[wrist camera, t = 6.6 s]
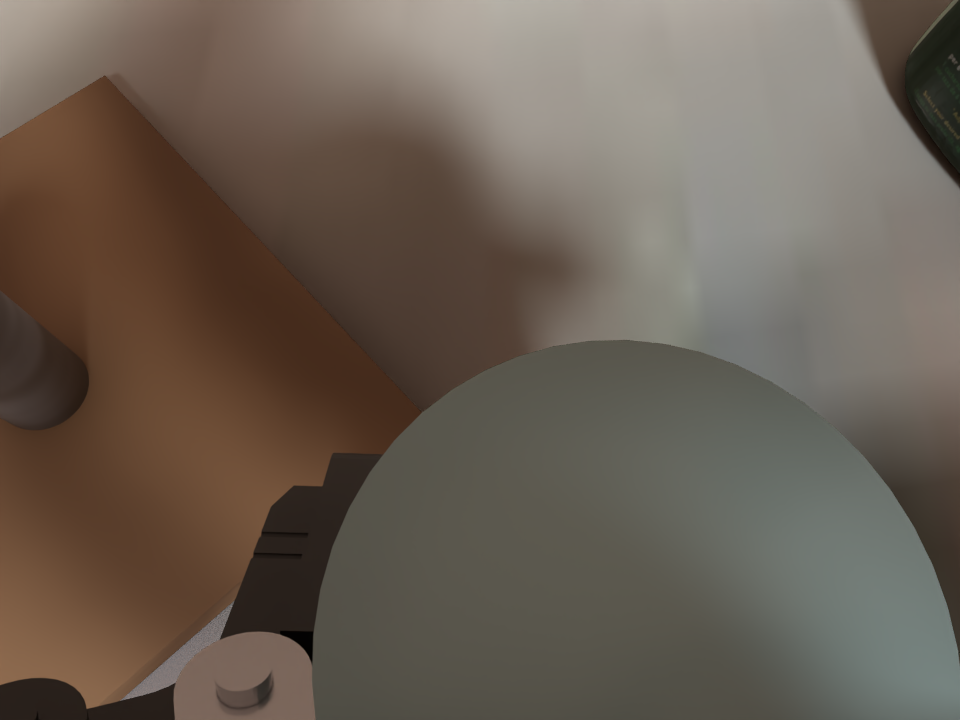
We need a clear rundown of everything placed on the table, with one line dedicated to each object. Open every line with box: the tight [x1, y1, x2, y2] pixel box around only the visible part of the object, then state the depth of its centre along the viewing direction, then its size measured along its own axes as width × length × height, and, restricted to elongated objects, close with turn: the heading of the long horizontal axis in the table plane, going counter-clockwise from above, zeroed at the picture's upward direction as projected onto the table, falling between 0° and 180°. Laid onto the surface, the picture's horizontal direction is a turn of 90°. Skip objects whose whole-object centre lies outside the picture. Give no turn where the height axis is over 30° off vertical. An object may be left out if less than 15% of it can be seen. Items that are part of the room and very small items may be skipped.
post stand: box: [0, 76, 422, 709], centre depth 17 cm, size 13×14×6 cm
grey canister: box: [312, 340, 960, 720], centre depth 11 cm, size 5×5×9 cm
